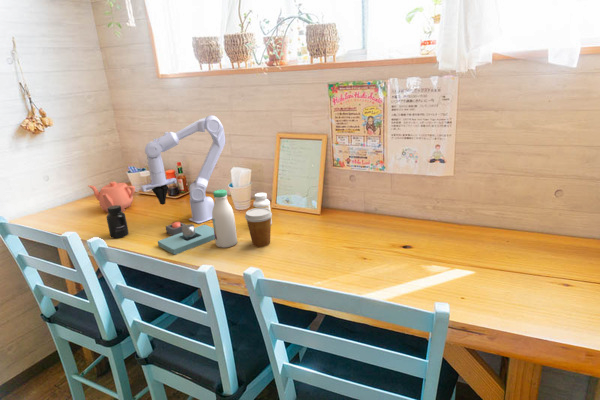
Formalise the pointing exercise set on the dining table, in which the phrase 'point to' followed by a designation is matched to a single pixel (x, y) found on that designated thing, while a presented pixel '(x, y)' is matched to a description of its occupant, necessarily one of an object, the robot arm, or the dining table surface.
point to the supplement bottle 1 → (117, 222)
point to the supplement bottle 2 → (261, 201)
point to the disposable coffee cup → (259, 226)
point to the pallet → (179, 245)
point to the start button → (176, 224)
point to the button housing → (174, 229)
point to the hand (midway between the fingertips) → (162, 203)
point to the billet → (188, 232)
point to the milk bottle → (223, 220)
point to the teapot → (114, 195)
